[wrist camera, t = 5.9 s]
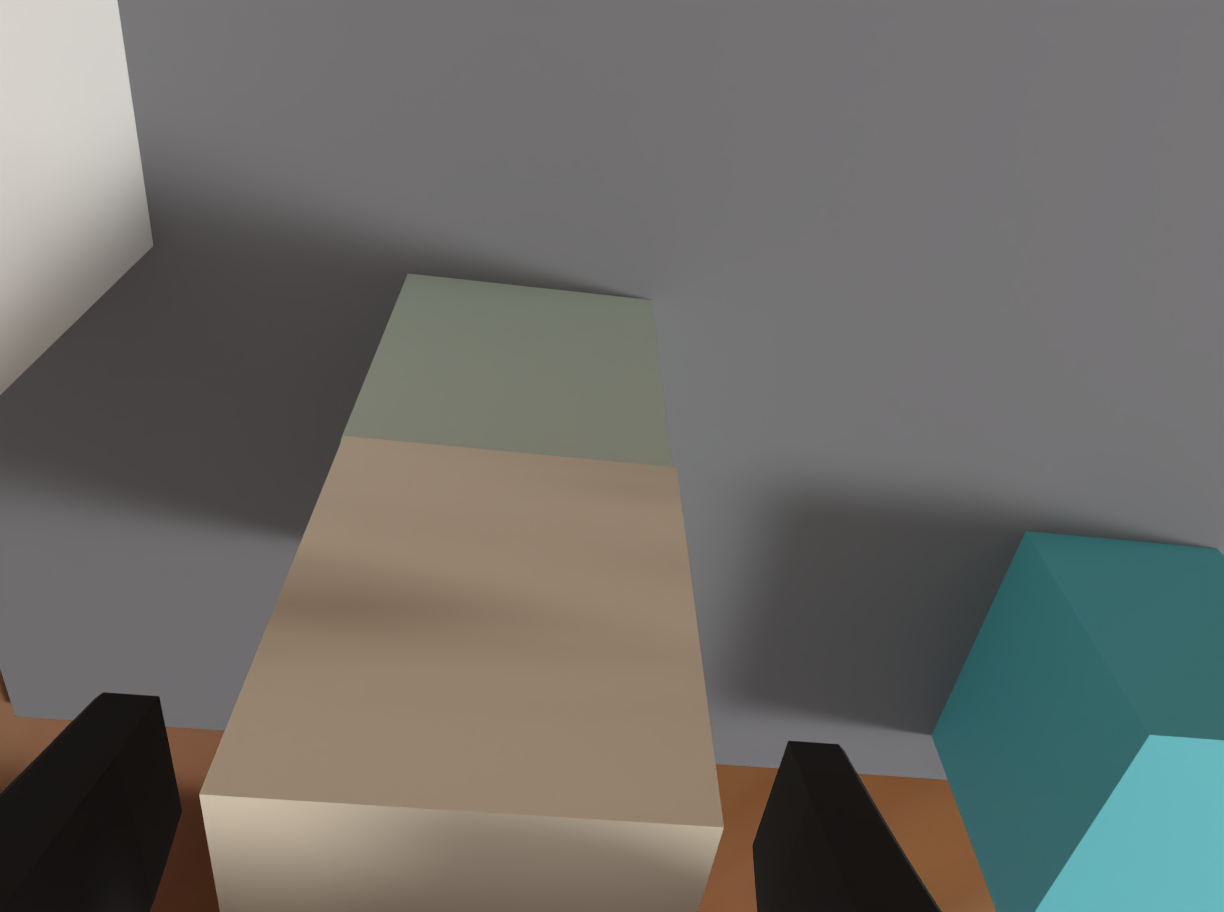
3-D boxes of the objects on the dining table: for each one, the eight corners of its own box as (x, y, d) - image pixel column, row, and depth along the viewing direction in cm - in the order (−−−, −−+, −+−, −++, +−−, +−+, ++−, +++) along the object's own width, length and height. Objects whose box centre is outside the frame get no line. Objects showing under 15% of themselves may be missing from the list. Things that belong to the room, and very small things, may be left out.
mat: (1163, 784, 24) (1168, 794, 23) (22, 705, 21) (15, 716, 21) (1894, -276, 12) (1921, -278, 12) (-416, -690, 10) (-441, -702, 10)
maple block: (614, 782, 15) (622, 1153, 11) (354, 764, 15) (260, 1140, 10) (675, 467, 12) (724, 828, 7) (343, 435, 11) (199, 795, 7)
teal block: (1096, 747, 22) (1211, 959, 18) (931, 735, 22) (1010, 948, 18) (1217, 548, 19) (1392, 752, 15) (1025, 531, 19) (1149, 734, 15)
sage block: (607, 574, 19) (612, 784, 15) (405, 557, 19) (352, 767, 15) (651, 299, 16) (672, 470, 12) (408, 273, 16) (340, 440, 11)
